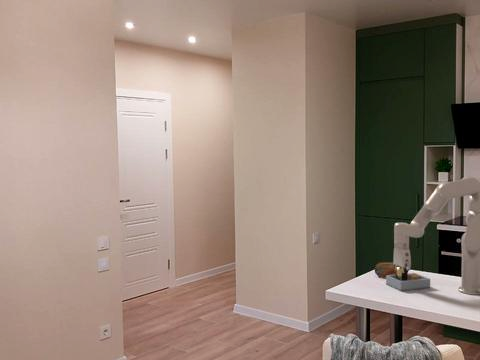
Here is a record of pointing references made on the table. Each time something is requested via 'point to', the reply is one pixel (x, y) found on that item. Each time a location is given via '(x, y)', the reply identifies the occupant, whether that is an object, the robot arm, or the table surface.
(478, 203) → the robot arm
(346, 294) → the table surface
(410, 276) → the walnut cube
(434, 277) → the table surface
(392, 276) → the tote
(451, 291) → the table surface
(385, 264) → the tin
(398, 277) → the brass cylinder
